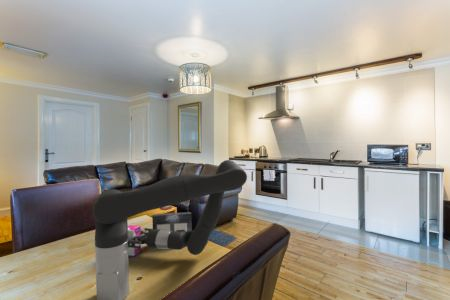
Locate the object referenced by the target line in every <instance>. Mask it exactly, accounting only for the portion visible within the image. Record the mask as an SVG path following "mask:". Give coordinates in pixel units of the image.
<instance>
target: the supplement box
mask: <svg viewBox="0 0 450 300" xmlns="http://www.w3.org/2000/svg"><path fill="white" fill-rule="evenodd" d="M141 227H142V226H141V225H132V224H129V225H128V238H133V237H134V236H138V235H140V234H141V230H142V228H141ZM136 241H137V238H136ZM141 250H142V244H141V245H140V248H131V247H128V258H129V257H130V258H134V257H135V256H136V255H138V253H140V252H142V251H141Z"/></svg>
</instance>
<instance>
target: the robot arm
mask: <svg viewBox="0 0 450 300" xmlns="http://www.w3.org/2000/svg"><path fill="white" fill-rule="evenodd" d="M247 179H248V175H247V172H246V171H245V170H244V169H243V168H242V167H241V166H240V165H239V164H237V163H236V162H235V161H233V160H230V159H226V160H224V161H222V162H220V163H219V165H218V166H217V168H216V172H215V173H214V174H211V175H205V174H204V175H201V174H193V173H192V174H190V173H187V174H180V175H176V176H175V175H174V176H171V177H167V178H164V179H162V180H159V181H157V182H154V183H152V184H150V185H148V186H145V187H144V188H140V189H136V190H135V189H134V190H131V191H125V192H122V191H120V190H118V189H115V188H113V189H112V188H111V189H107V190H104V191H102V192H101V193H100V194H98V196H97V197H96V199H95V201H94V203H93V207H92V216H93V218H94V219H95V221H94V222H95V226H94V227H95V230H94V232H95V233H94V252H95V255H94V256H95V257H94V258H95V261H94V263H95V287H96V289H95V290H96V300H125V299H126V298H127V297H128V296H129V294H130V274H129V273H130V269H129V257H128V247H131V248H140V245H141V246H142V245H146V246H147V248H149V249H156V250H157V249H159V250H175V251H176V250H178V251H179V250H182V249H185V248H187V251H188V253H189V254H191V255H193V256H197V255H200V254H202V252H203V251H204V250H205V248H206V247H207V245H208V243H209V237H210V236H211V234H212V233H213V231H214V229H215V228H216V226H217V224H218V222H219V220H220V216H221V213H222V209H223V208H222V207H223V200H224V195H225V192H230V191H236V190H238V189H239V188H240V189H241V187H242V186H244V184H246V183H247ZM205 196H208V198H207V201H206V203H205V206H204V208H203V211H202V212H201V215H200V217H199V219H198V221H197V223H196V226H195V228H194V229H193V230H192V229H191V231H185V232H178V231H169V230H160V229H153V228H149V227H145V228H144V229H141V234H140V235H138V236H134V237H133V238H128V226H129V225H128V219H129V218H131V217H134V216H137V215H139V214H142V213H145V212H149V211H152V210H157V209H161V208H165V207H169V206H173V205H178V204H180V203H185V202H188V201H191V200H194V199H199V198H202V197H205ZM136 238H137V241H136Z"/></svg>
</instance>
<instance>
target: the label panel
mask: <svg viewBox="0 0 450 300" xmlns="http://www.w3.org/2000/svg"><path fill="white" fill-rule="evenodd" d="M151 216H152V219H151V220H152V229H160V230H169V231H178V232H185V231H192V212H190V211H188V212H175V213H174V212H173V213H172V212H171V213H153V214H152V215H151Z"/></svg>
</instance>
